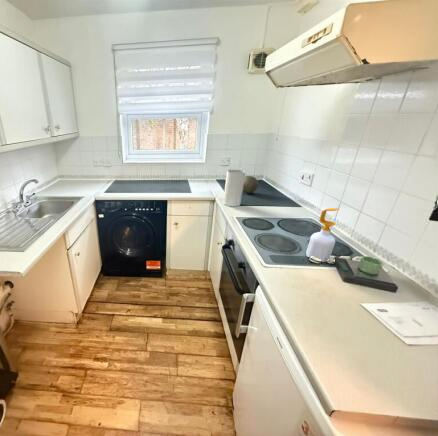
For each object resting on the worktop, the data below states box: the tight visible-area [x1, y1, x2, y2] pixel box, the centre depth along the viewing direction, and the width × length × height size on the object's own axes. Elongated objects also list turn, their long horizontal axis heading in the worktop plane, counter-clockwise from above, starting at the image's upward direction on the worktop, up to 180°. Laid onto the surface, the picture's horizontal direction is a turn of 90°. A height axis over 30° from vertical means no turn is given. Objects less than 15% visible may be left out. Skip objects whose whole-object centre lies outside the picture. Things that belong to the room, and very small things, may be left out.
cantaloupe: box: [242, 175, 259, 195], centre depth 202 cm, size 14×14×15 cm
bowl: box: [358, 255, 385, 274], centre depth 95 cm, size 6×6×5 cm
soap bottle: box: [305, 207, 339, 263], centre depth 106 cm, size 9×9×25 cm
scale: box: [333, 256, 399, 294], centre depth 97 cm, size 16×16×3 cm
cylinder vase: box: [222, 169, 246, 208], centre depth 175 cm, size 12×12×25 cm
